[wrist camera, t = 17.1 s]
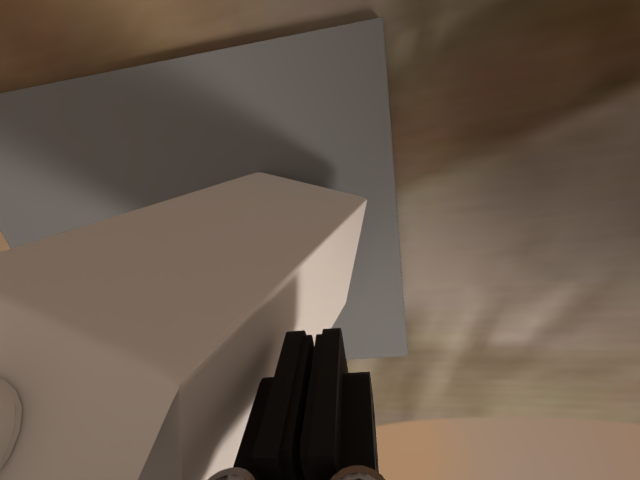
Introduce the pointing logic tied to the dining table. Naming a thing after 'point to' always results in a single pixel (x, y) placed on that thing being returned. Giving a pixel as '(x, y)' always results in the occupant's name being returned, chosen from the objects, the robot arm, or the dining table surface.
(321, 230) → the milk carton
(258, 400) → the robot arm
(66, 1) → the dining table surface
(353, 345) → the mat
